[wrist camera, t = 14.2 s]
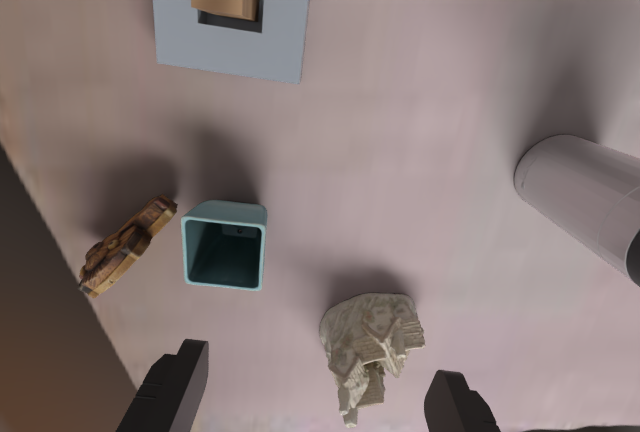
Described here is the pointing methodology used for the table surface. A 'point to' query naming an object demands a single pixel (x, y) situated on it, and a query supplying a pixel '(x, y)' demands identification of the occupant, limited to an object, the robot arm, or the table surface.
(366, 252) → the table surface
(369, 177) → the table surface
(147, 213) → the wooden carving
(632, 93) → the table surface
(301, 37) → the holder
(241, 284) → the flower pot
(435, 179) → the table surface
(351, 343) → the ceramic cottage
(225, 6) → the wooden block
